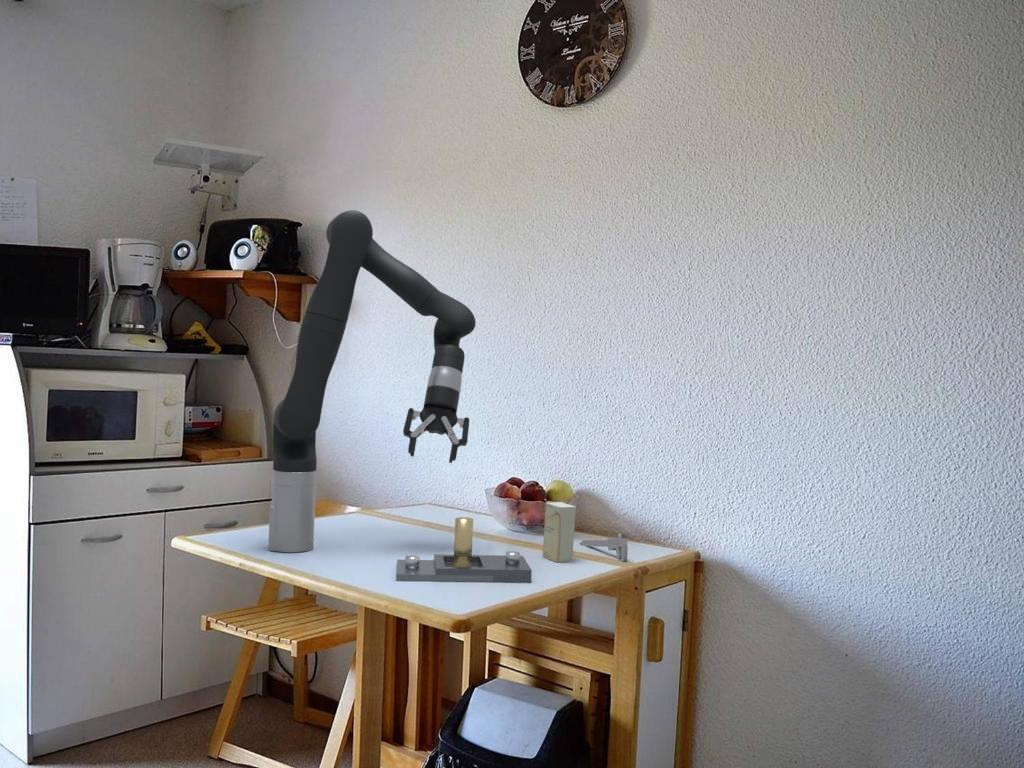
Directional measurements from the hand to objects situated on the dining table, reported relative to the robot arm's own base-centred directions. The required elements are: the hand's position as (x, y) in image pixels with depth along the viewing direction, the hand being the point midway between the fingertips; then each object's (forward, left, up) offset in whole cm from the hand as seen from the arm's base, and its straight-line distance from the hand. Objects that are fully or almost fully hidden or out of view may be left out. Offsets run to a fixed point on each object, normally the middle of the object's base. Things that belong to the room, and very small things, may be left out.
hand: (431, 458), depth 195 cm
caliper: (+40, +5, -21) cm, 46 cm away
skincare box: (+28, -3, -21) cm, 36 cm away
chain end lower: (+3, -18, -21) cm, 28 cm away
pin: (+6, -18, -21) cm, 28 cm away
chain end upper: (+10, -18, -21) cm, 29 cm away
